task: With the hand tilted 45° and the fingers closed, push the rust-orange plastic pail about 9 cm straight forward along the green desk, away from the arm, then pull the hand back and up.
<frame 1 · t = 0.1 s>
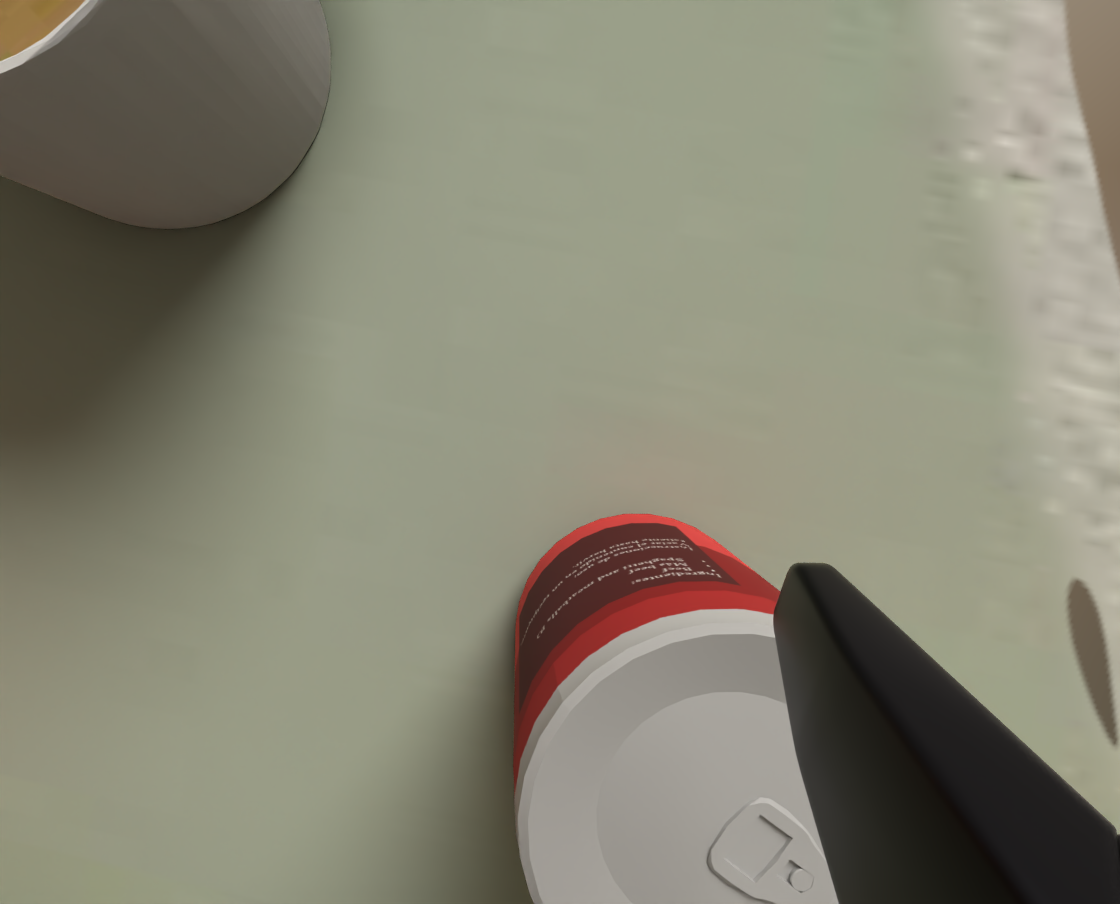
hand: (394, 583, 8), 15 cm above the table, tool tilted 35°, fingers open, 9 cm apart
coffee mug: (213, 31, 21), on the table
canned food: (634, 622, 24), on the table
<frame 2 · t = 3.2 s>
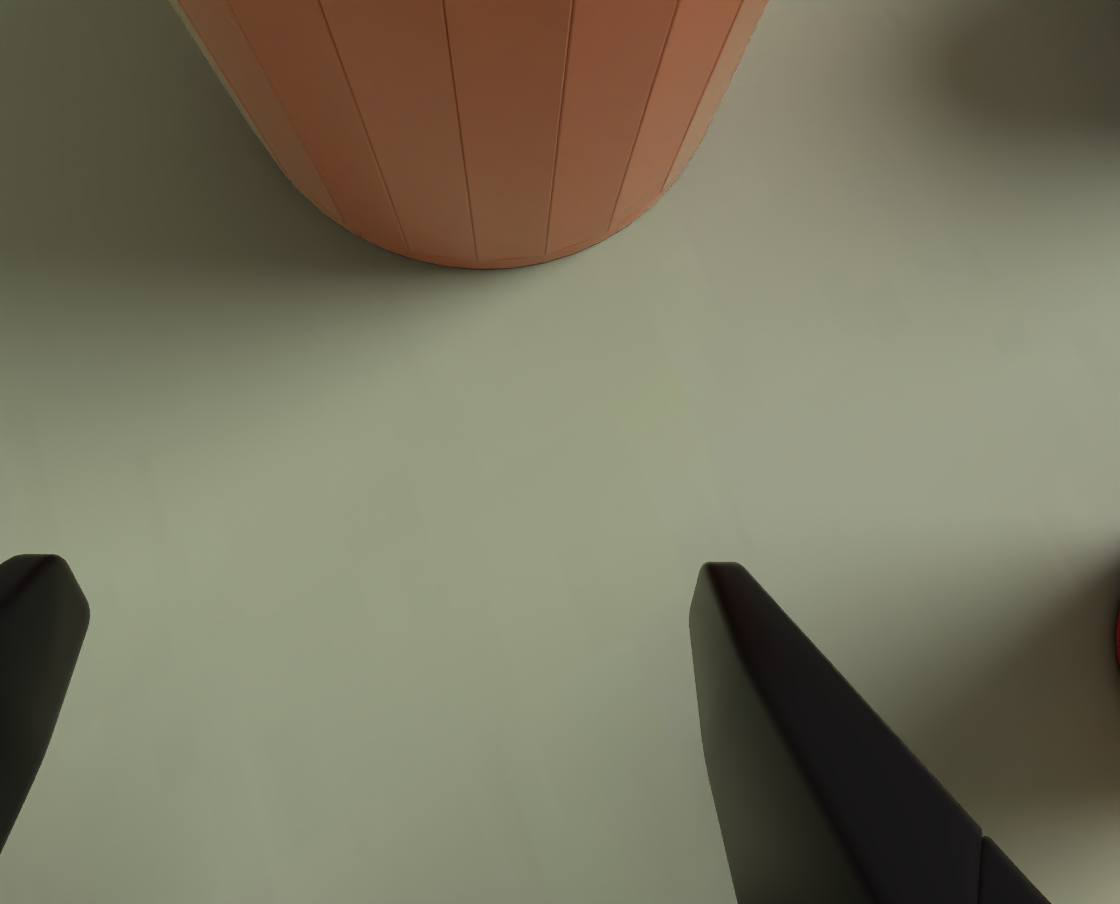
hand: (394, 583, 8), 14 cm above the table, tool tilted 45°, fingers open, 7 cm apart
bucket: (482, 37, 24), on the table
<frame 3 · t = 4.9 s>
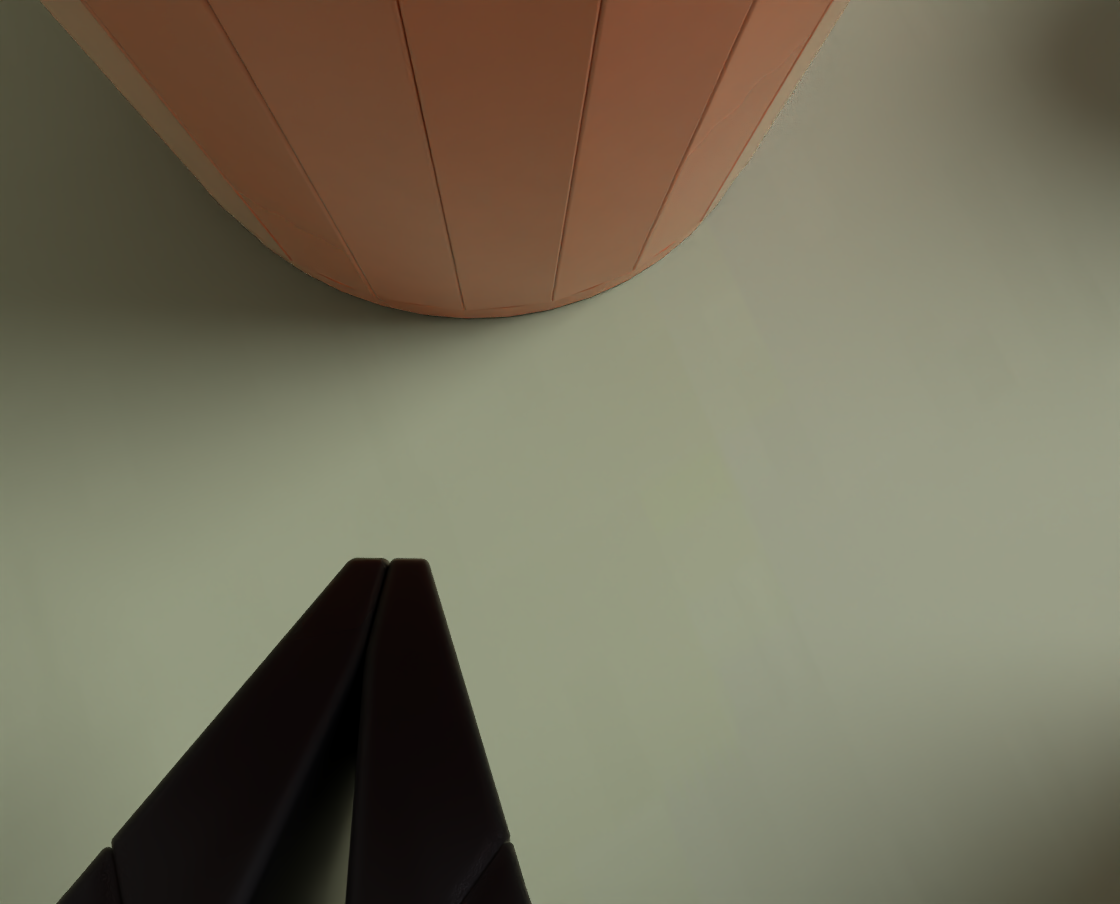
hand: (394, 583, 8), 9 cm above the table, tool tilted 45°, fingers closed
bucket: (472, 21, 19), on the table
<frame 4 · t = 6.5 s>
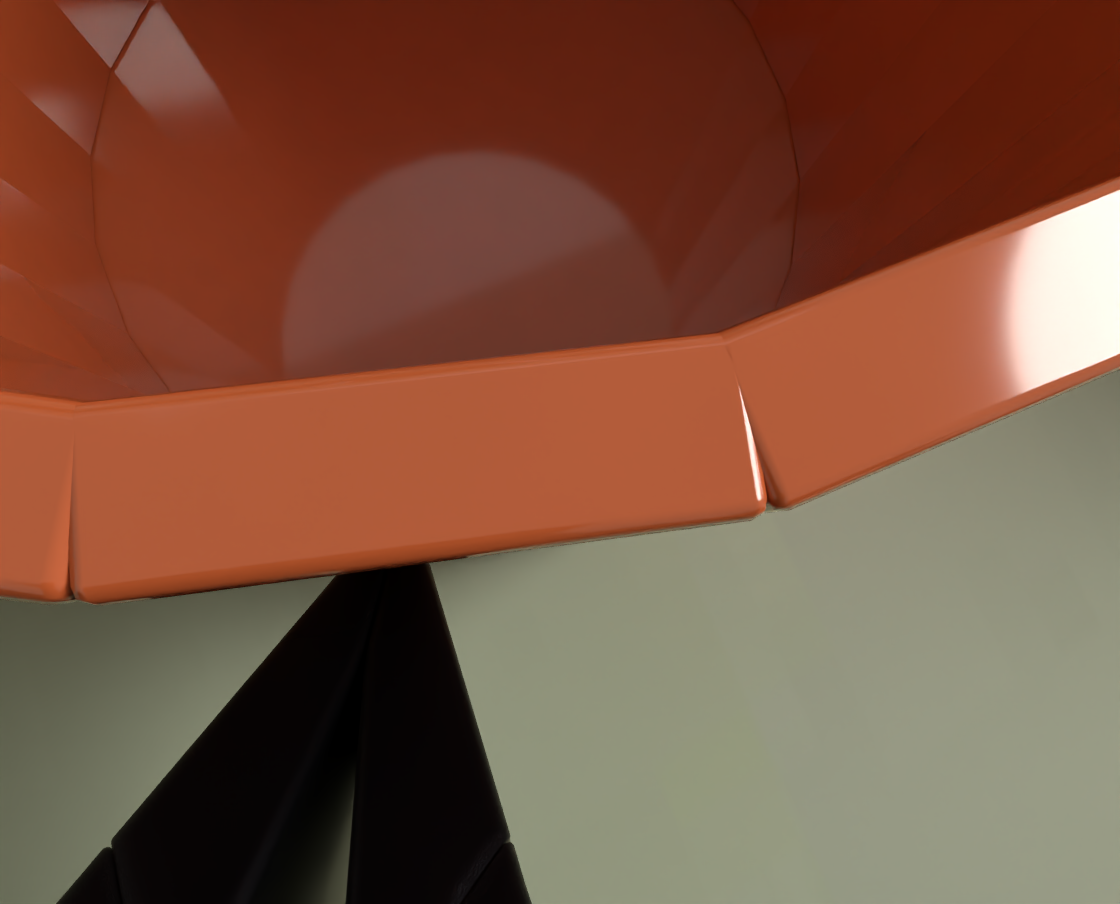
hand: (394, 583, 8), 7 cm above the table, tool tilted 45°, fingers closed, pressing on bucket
bucket: (459, 188, 16), on the table, touching gripper
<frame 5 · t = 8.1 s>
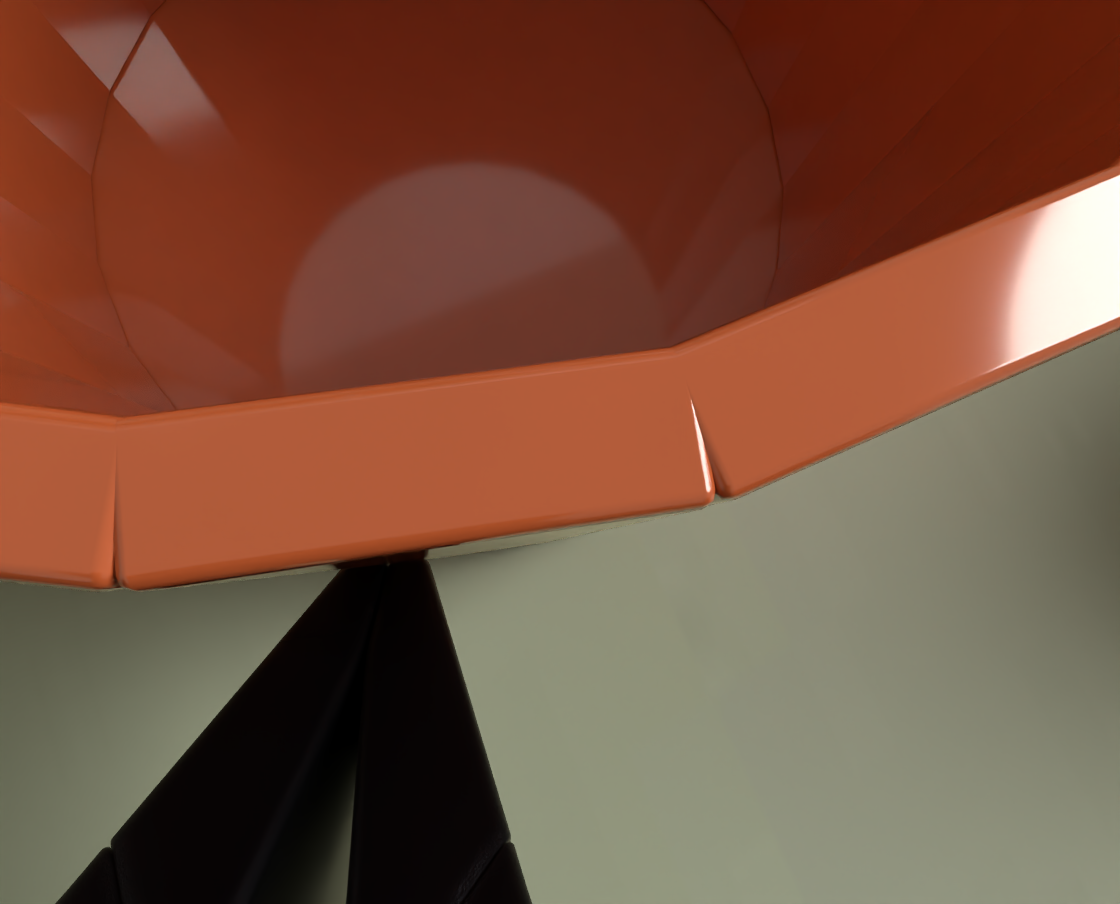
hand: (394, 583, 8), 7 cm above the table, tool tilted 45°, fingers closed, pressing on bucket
bucket: (451, 200, 16), on the table, touching gripper
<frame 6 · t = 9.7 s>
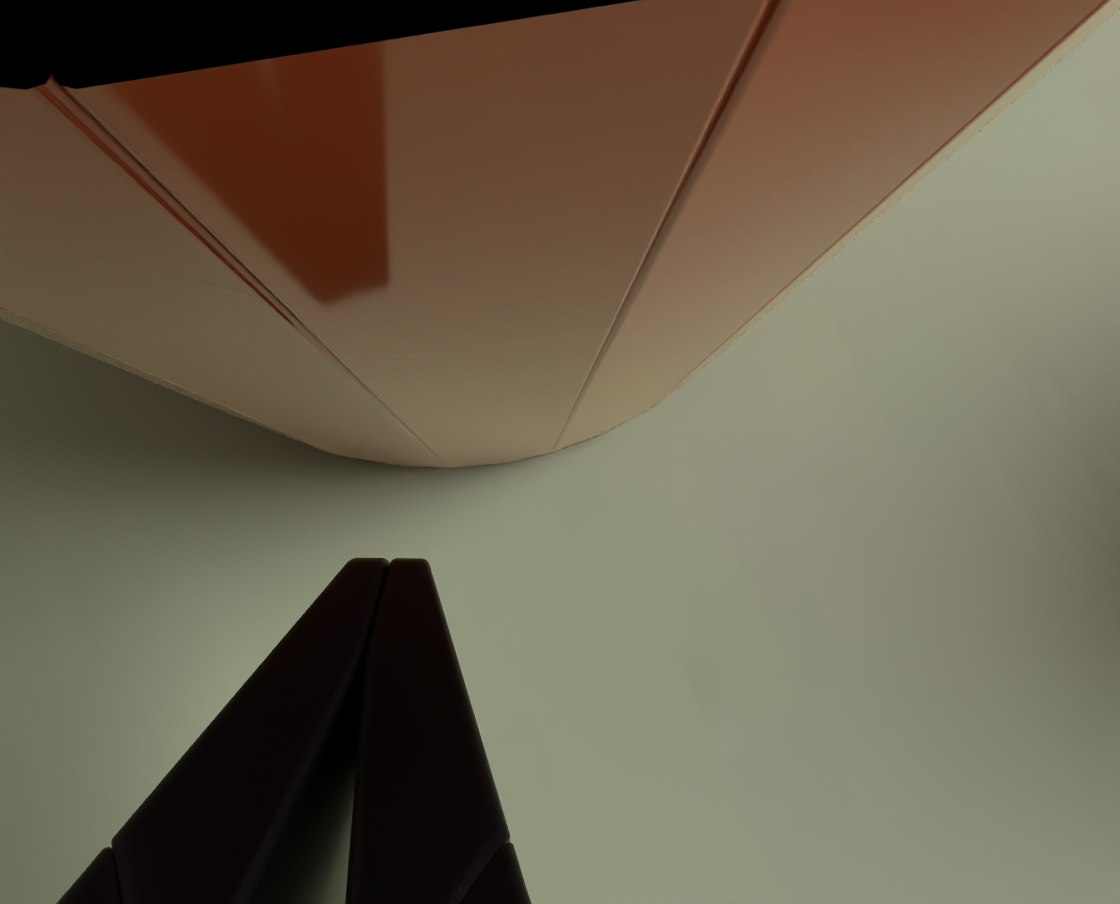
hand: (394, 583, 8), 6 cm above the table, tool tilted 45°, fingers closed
bucket: (447, 103, 15), on the table
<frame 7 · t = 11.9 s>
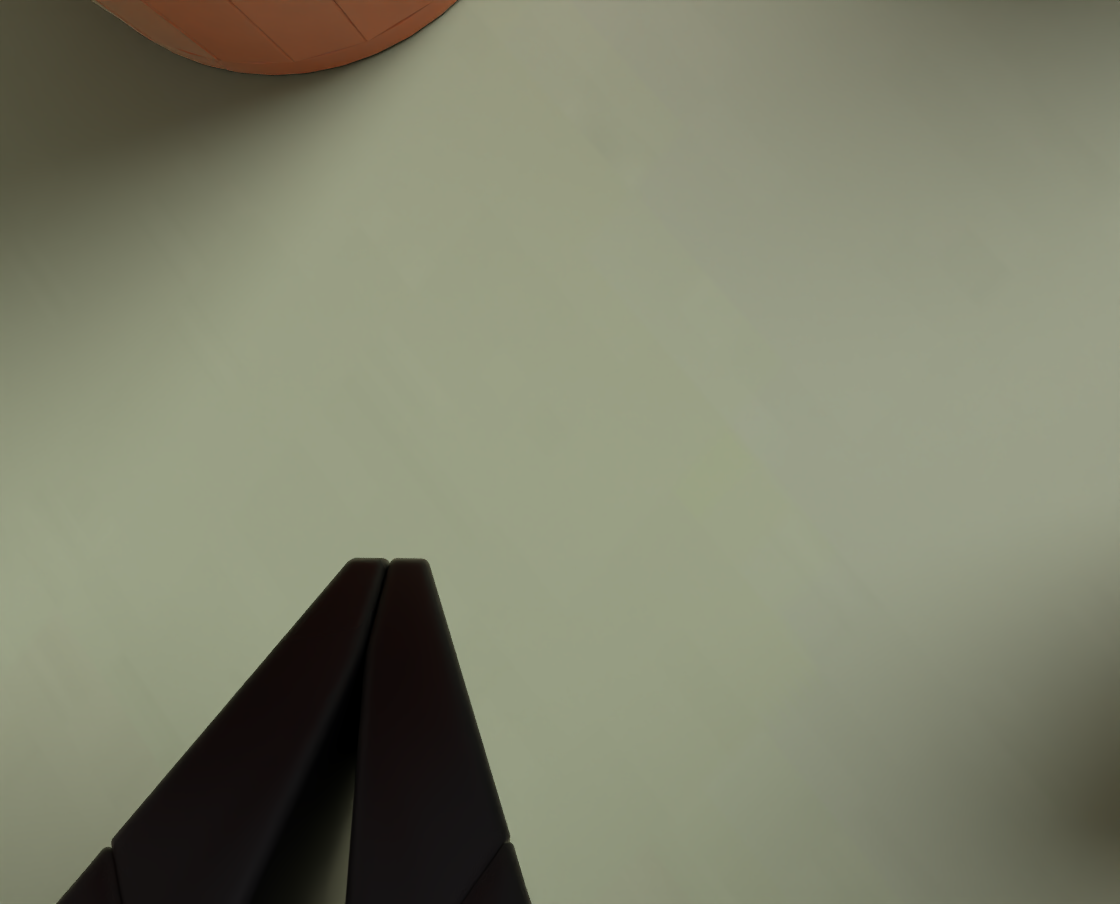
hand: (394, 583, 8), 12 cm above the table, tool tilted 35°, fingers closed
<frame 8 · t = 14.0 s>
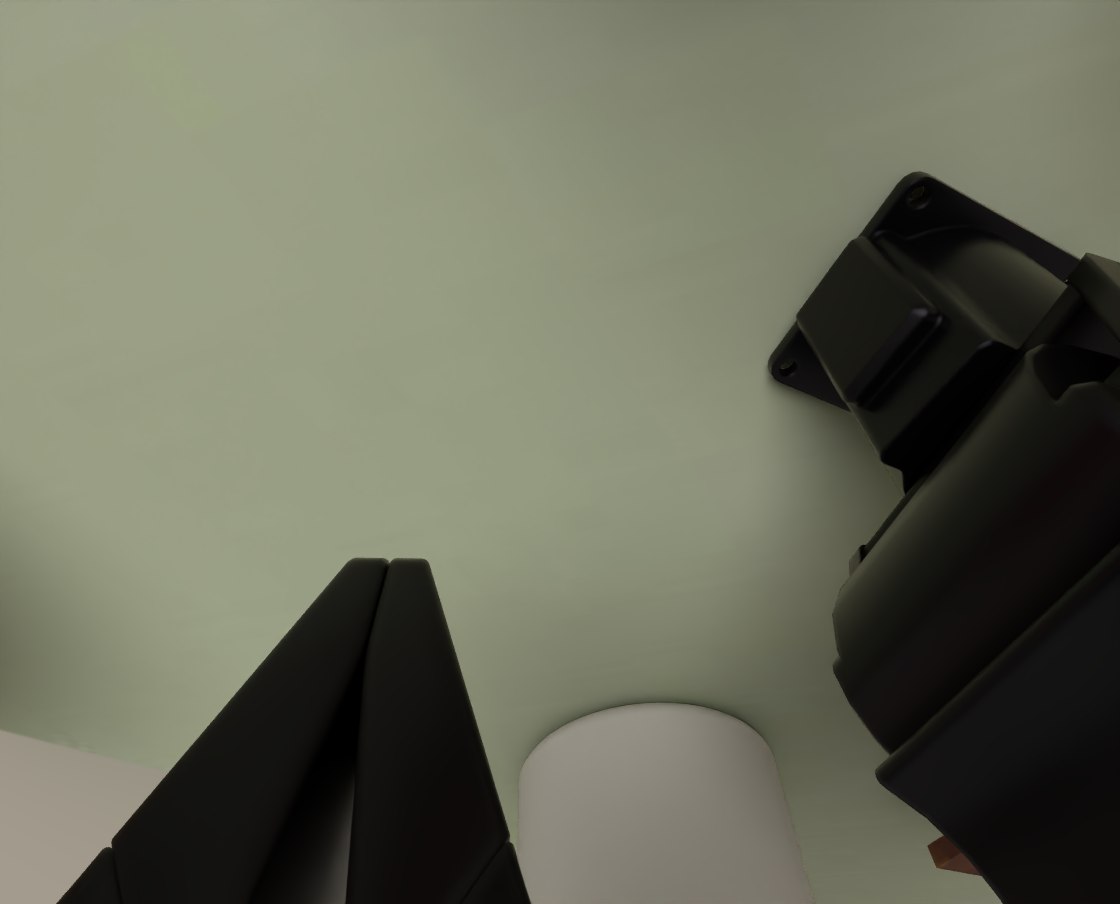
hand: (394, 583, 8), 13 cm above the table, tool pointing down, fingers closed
cylinder vase: (643, 762, 36), on the table
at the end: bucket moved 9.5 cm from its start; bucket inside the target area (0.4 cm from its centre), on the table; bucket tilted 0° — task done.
